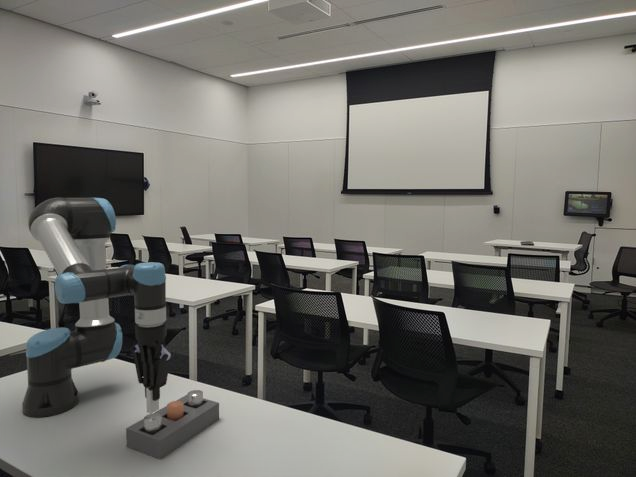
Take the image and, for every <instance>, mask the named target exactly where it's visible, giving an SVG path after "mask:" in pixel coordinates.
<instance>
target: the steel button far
mask: <svg viewBox="0 0 636 477" xmlns="http://www.w3.org/2000/svg"><path fill="white" fill-rule="evenodd" d="M186 395H187V396H188V407H192V408H195V409H197V408H198V407H200V406H201V405H203V398H204V392H203V391H202V390H200V389H193V390H190V391H188V392H187V394H186Z"/></svg>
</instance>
